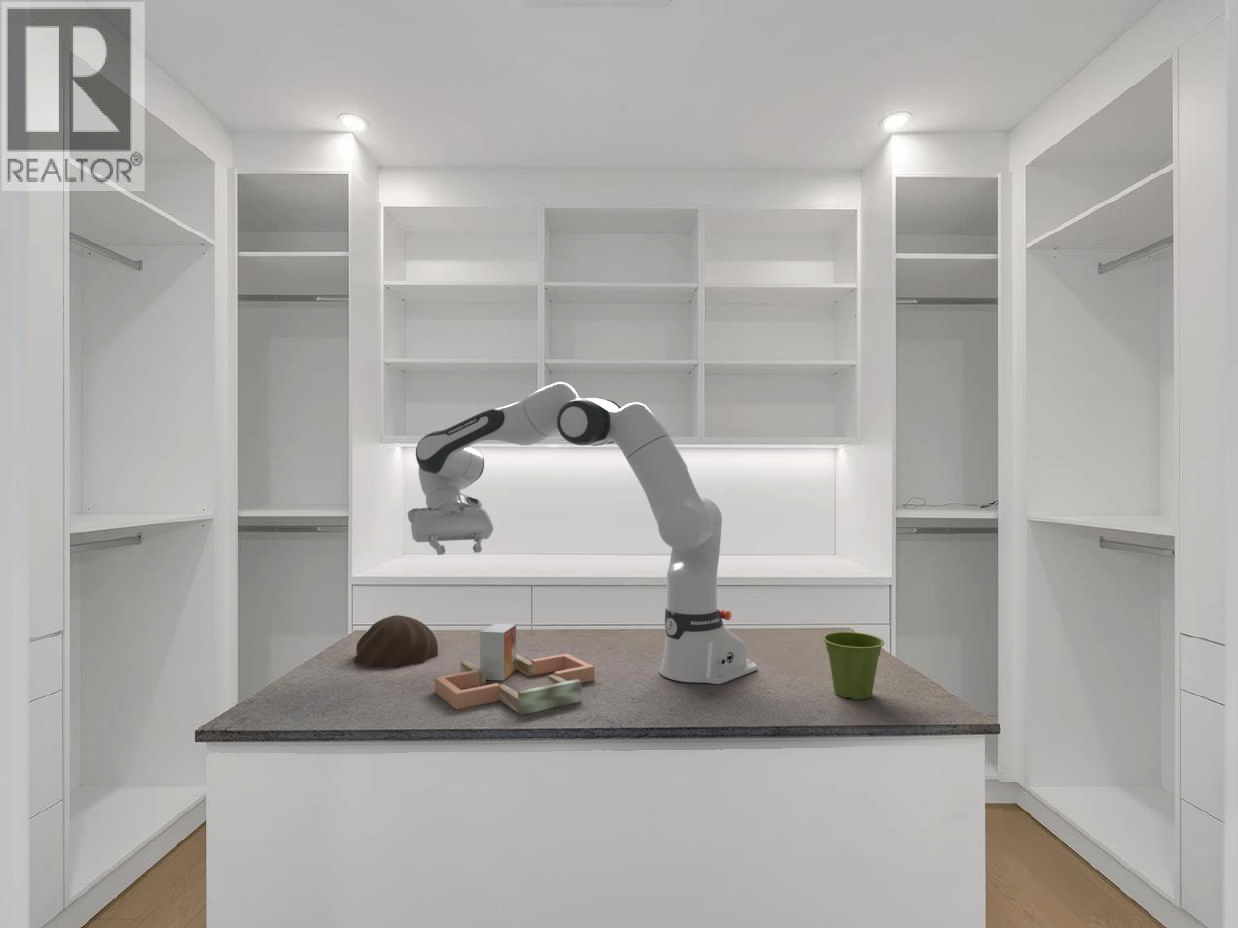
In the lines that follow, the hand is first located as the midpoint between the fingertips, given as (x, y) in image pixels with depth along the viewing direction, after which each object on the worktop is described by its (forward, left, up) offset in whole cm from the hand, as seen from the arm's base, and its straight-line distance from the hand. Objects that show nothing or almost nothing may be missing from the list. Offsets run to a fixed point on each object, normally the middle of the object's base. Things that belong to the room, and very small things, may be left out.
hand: (460, 552), depth 170 cm
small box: (-1, +20, -25) cm, 32 cm away
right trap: (-11, +29, -25) cm, 40 cm away
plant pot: (-55, +72, -25) cm, 94 cm away
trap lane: (-1, +28, -25) cm, 38 cm away
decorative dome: (+13, -8, -25) cm, 30 cm away
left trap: (+9, +29, -25) cm, 39 cm away
